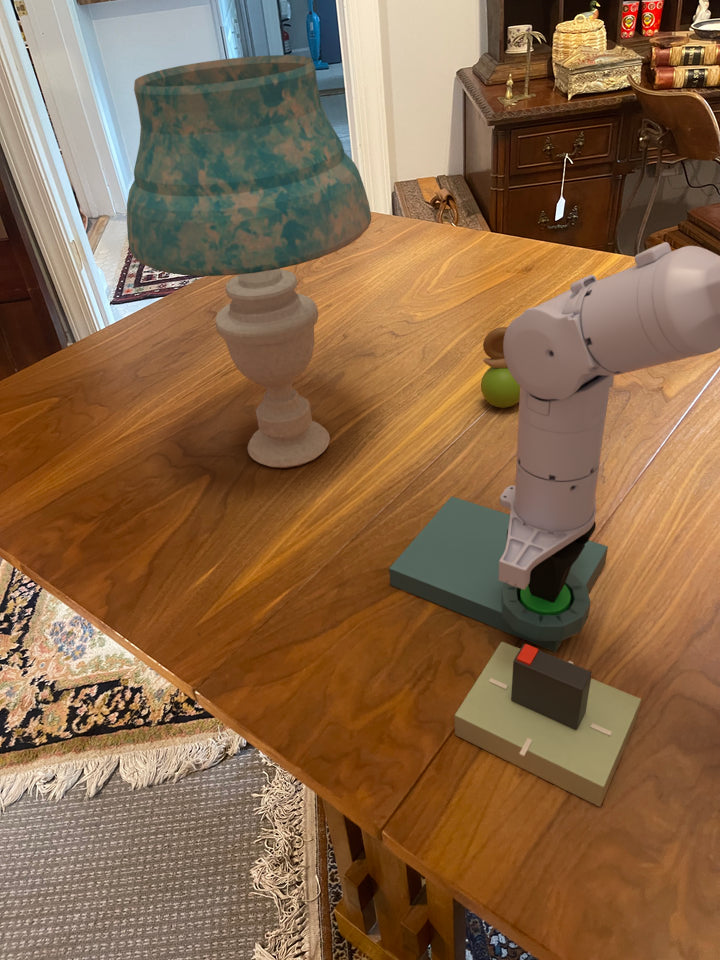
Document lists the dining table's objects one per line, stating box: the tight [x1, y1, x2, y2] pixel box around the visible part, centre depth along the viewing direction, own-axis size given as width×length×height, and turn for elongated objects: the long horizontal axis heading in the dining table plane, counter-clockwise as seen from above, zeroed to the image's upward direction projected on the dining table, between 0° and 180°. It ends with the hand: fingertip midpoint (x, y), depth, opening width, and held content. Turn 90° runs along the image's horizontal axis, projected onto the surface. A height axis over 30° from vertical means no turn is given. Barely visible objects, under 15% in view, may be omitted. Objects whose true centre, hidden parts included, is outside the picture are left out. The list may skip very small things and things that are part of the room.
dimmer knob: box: [511, 643, 593, 730], centre depth 52 cm, size 5×2×5 cm, turn 56°
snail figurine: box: [480, 326, 520, 409], centre depth 88 cm, size 5×6×12 cm
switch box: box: [388, 495, 609, 653], centre depth 66 cm, size 18×13×4 cm
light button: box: [520, 585, 571, 615], centre depth 60 cm, size 4×4×2 cm
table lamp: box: [126, 54, 372, 469], centre depth 76 cm, size 24×24×40 cm
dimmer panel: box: [454, 641, 642, 807], centre depth 54 cm, size 11×9×3 cm
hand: (545, 593), depth 60 cm, fingers closed, pressing on light button
